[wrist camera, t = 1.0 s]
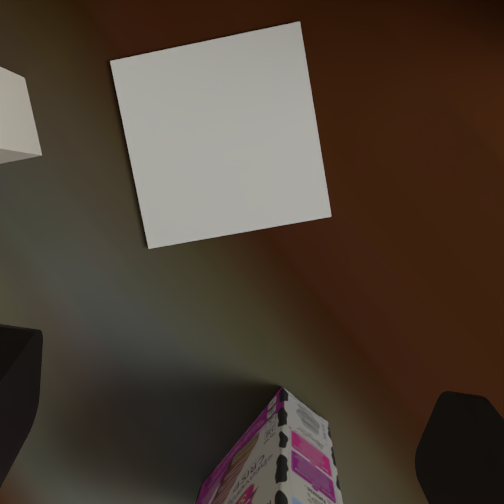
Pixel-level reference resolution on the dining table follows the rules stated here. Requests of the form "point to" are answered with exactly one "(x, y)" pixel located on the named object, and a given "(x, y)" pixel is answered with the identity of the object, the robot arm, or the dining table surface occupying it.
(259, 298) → the dining table surface
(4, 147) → the beige block
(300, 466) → the candy bar box
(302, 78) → the mat
